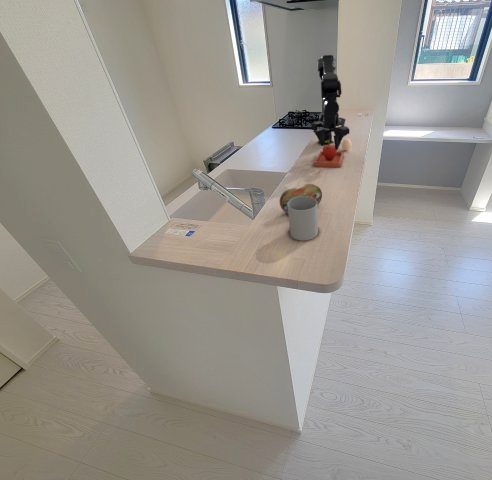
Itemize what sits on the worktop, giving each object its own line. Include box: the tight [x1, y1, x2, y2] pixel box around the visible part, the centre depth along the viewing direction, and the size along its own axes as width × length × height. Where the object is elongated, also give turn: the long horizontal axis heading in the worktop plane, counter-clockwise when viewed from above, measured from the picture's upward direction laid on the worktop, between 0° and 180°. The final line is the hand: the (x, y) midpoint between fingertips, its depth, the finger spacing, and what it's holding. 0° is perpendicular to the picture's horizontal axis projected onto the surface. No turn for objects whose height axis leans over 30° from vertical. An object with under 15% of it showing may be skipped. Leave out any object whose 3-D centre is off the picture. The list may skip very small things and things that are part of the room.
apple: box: [322, 140, 338, 160], centre depth 125 cm, size 8×7×10 cm
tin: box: [279, 183, 323, 215], centre depth 89 cm, size 15×3×8 cm, turn 117°
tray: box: [313, 150, 344, 168], centre depth 128 cm, size 15×12×2 cm
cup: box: [287, 196, 319, 242], centre depth 78 cm, size 8×8×10 cm
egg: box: [341, 138, 352, 152], centre depth 138 cm, size 5×5×6 cm
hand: (329, 147), depth 124 cm, fingers open, 9 cm apart
